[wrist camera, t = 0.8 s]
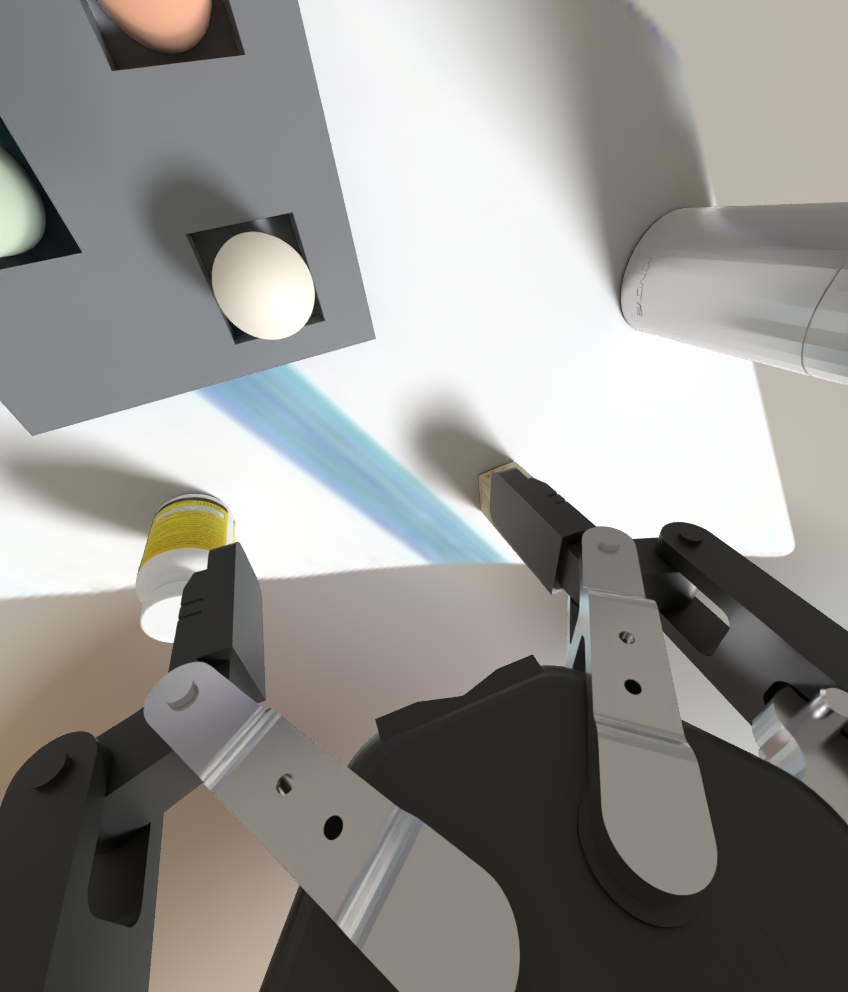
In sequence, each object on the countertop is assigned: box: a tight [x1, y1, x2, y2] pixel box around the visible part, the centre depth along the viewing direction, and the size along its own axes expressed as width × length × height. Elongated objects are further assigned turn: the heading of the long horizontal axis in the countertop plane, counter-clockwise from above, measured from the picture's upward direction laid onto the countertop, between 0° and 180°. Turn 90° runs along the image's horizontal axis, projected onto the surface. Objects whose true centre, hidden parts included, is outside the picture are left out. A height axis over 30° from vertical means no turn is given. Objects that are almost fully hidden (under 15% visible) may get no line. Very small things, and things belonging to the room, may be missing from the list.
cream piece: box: [212, 231, 315, 340], centre depth 20 cm, size 5×5×4 cm
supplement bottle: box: [136, 494, 235, 643], centre depth 26 cm, size 5×5×10 cm
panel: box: [0, 0, 376, 436], centre depth 18 cm, size 20×20×2 cm
